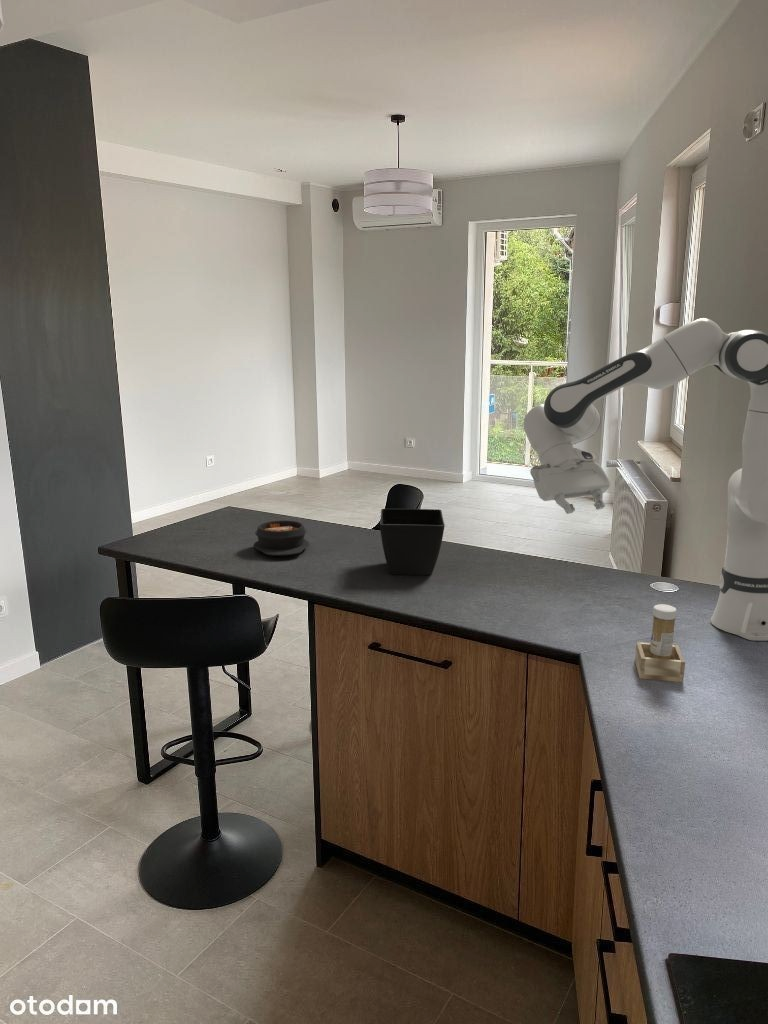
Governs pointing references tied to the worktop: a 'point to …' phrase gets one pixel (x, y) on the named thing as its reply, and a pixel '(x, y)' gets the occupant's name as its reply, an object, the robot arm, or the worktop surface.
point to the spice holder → (659, 664)
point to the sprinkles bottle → (662, 631)
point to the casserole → (281, 538)
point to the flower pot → (411, 539)
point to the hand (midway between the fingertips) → (586, 510)
